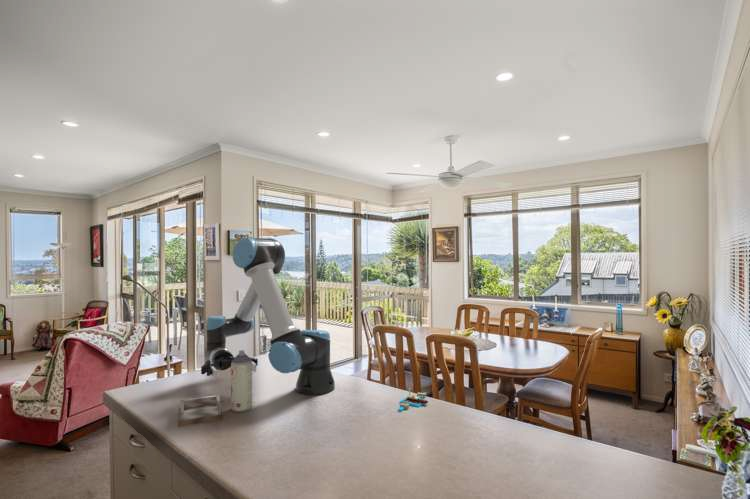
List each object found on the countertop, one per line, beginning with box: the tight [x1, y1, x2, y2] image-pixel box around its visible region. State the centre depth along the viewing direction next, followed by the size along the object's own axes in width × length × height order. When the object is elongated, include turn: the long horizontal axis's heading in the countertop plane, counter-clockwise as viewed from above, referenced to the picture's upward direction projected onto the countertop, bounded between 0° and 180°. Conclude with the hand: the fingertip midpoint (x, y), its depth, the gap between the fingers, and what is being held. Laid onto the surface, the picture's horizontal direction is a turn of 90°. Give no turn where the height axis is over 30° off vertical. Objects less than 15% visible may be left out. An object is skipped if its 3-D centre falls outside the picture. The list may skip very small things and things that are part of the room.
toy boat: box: [397, 387, 429, 413], centre depth 144 cm, size 20×5×9 cm
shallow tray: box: [177, 394, 224, 427], centre depth 133 cm, size 13×13×4 cm
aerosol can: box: [230, 349, 253, 414], centre depth 139 cm, size 7×7×20 cm
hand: (236, 371), depth 142 cm, fingers open, 13 cm apart
